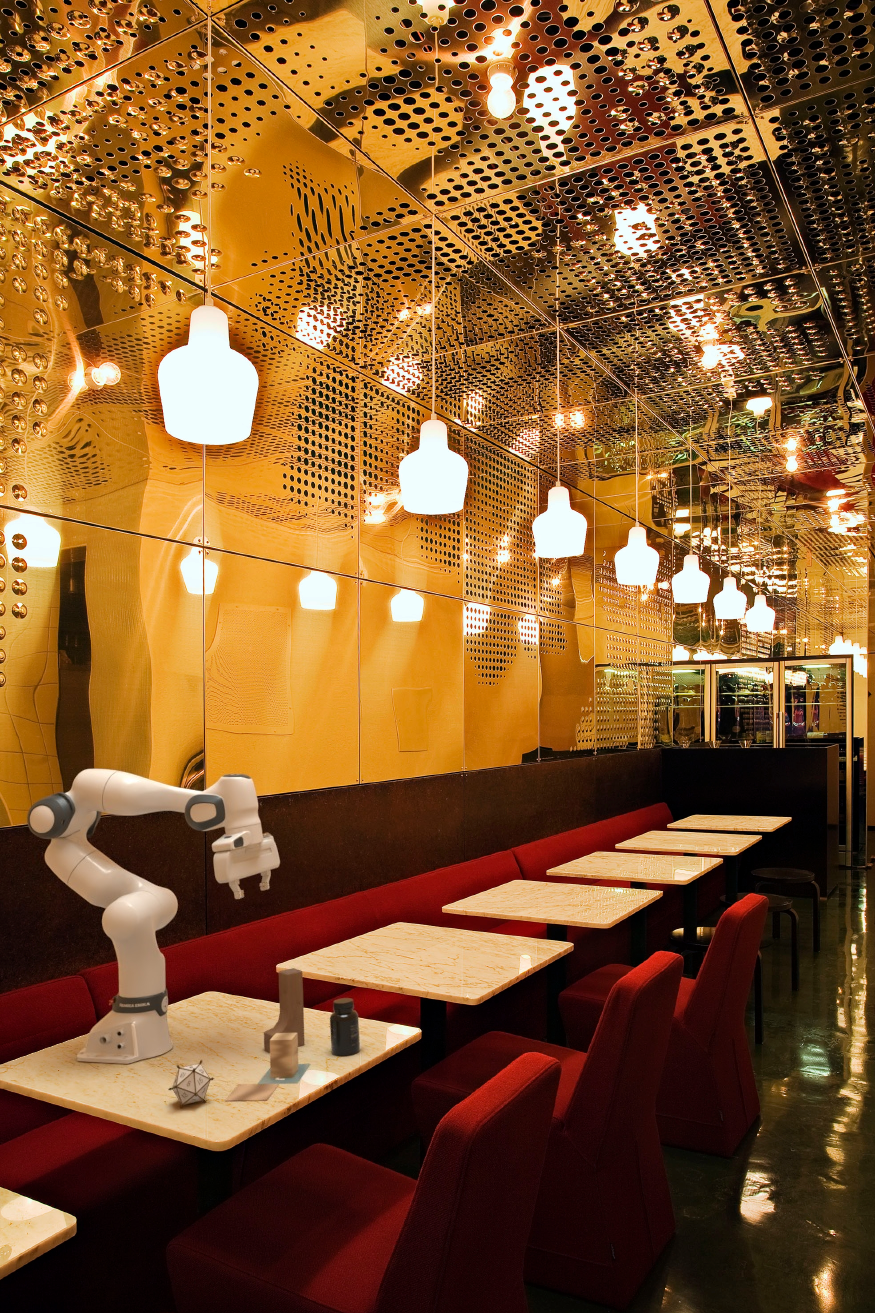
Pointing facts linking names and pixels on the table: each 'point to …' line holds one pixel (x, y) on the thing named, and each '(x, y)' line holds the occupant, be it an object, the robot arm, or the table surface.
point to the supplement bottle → (344, 1028)
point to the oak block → (284, 1055)
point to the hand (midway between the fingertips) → (252, 894)
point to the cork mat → (251, 1092)
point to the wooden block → (289, 1007)
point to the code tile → (295, 1079)
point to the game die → (191, 1084)
